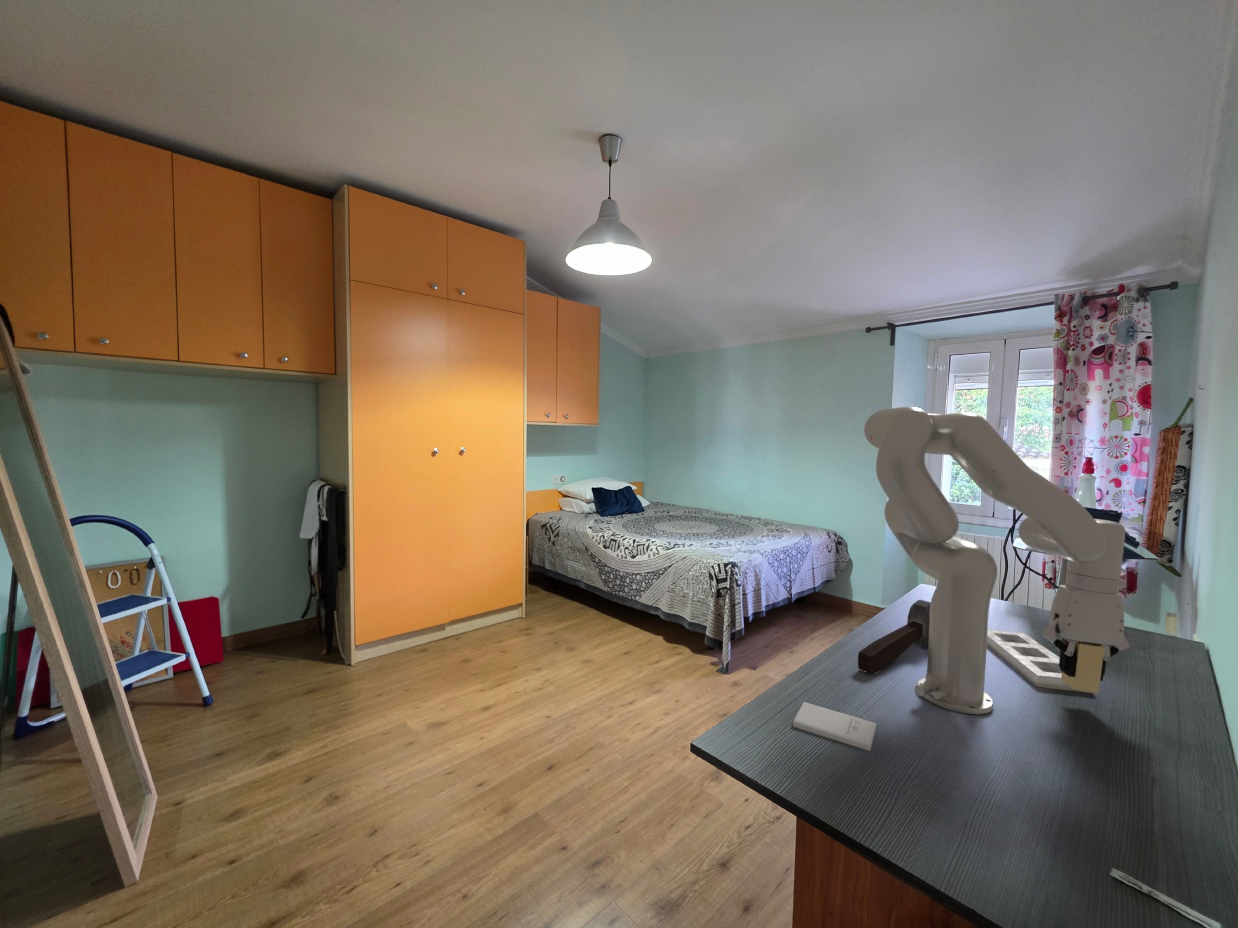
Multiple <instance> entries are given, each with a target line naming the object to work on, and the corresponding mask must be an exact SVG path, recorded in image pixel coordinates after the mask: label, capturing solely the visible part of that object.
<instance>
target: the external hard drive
mask: <svg viewBox="0 0 1238 928" xmlns="http://www.w3.org/2000/svg"><path fill="white" fill-rule="evenodd" d="M792 726H793V728H796V729H800V730H803V731H806V732H808V733H812V734H815V735H818V736H822V737H824V738H828V739H831V740H834V741H837V742H839V743H840V742H841V743H844V744H846V745H849V746H853V747H856V748H859V749H862V750H865V751H868V752H871V751H872V747H873V743H874V737H875V734H876V730H877V723H876V722H872V721H869V720H866V719H864V718H863V719H862V718H859V717H857V716H853V715H850V714H847V713H843V712H840V711H835V710H832V709H829V708H826V707H822V706H820V705H816V704H813V703H809V702H806V701H803V703H802V704H801V706H800V708H799V710H798V711H797V713H796V715H795V717H794V719H793V723H792Z"/></svg>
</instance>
